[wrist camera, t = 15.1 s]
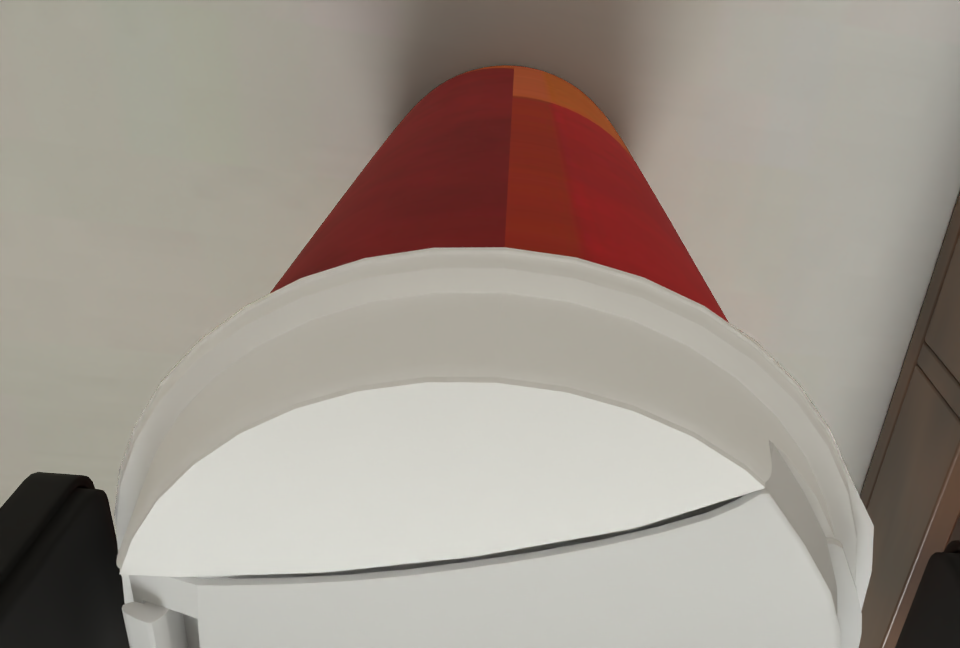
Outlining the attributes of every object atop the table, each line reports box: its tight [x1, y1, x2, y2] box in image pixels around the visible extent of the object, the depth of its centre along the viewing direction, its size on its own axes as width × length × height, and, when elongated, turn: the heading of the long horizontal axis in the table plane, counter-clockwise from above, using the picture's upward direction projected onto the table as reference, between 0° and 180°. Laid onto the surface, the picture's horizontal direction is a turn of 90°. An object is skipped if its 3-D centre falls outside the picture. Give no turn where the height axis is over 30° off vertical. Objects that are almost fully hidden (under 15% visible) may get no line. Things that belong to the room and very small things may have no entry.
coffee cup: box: [114, 65, 874, 648], centre depth 15 cm, size 8×8×15 cm
